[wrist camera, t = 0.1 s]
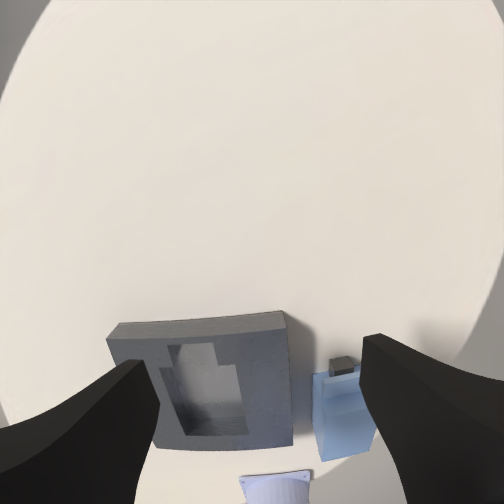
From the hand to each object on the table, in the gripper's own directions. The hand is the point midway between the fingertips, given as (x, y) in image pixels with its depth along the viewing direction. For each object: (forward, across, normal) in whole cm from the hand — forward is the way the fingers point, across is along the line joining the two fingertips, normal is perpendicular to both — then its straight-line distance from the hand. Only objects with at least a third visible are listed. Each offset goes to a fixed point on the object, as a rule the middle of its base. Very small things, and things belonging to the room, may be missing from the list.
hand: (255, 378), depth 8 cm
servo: (+10, -6, +11) cm, 16 cm away
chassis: (+10, +4, +8) cm, 14 cm away
